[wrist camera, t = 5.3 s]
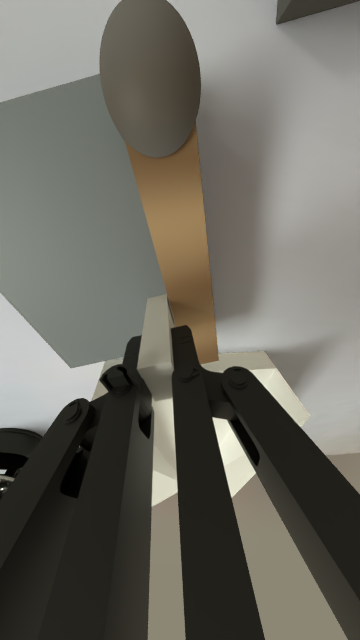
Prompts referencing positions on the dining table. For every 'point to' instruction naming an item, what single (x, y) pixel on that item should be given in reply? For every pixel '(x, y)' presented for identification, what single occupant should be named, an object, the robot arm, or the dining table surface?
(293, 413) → the building model
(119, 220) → the stool seat
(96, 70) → the dining table surface
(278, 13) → the block
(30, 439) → the french press
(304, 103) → the dining table surface
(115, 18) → the hinged leg
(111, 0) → the dining table surface
